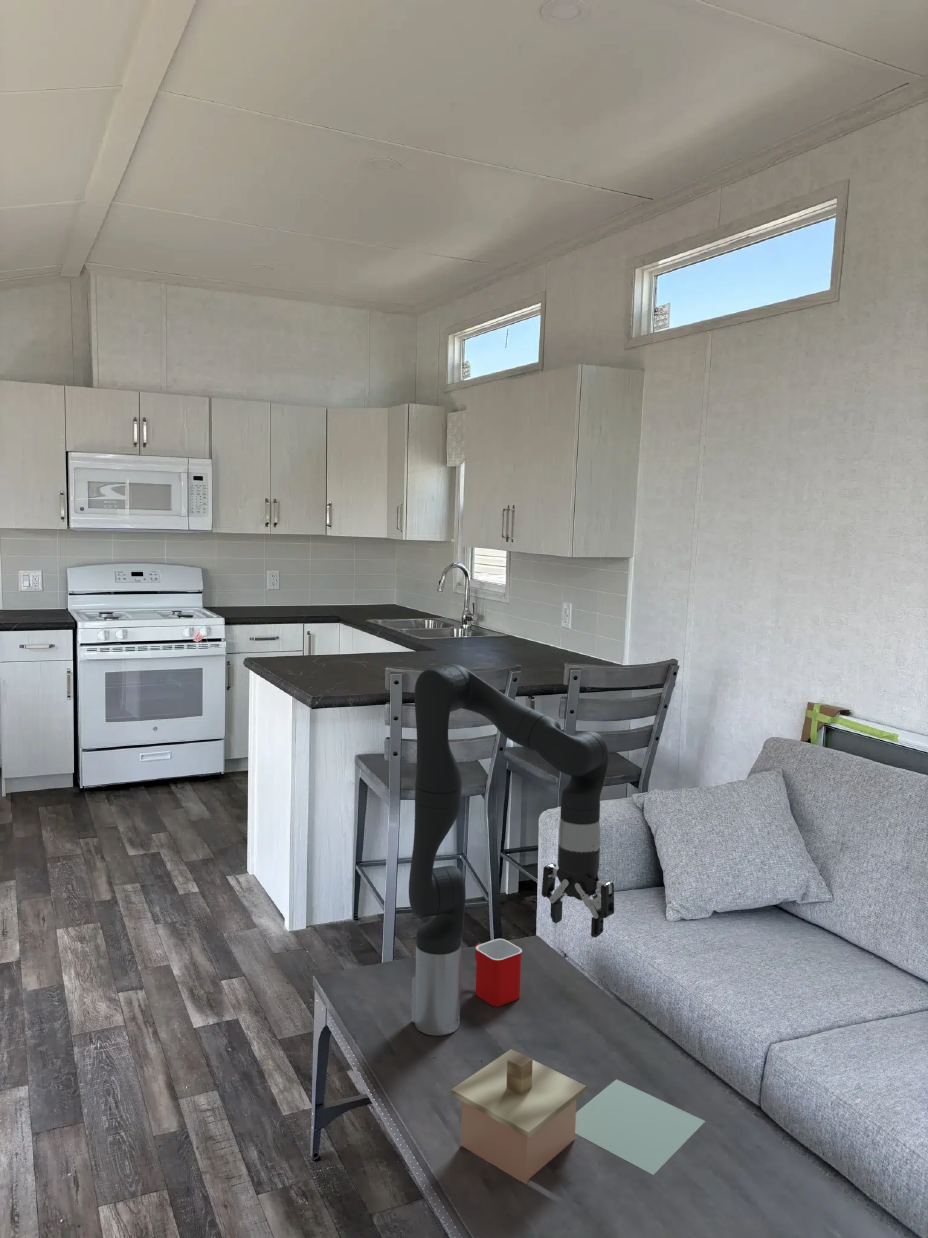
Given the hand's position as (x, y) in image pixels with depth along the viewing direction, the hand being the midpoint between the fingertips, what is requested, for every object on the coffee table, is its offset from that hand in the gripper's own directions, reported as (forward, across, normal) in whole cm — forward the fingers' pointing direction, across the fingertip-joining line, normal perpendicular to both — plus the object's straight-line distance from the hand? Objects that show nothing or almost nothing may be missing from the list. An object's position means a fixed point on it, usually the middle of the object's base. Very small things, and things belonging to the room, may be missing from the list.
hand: (576, 928), depth 171 cm
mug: (+30, -32, +16) cm, 47 cm away
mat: (+30, +15, -3) cm, 34 cm away
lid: (+21, +3, -20) cm, 29 cm away
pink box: (+30, +3, -20) cm, 36 cm away
